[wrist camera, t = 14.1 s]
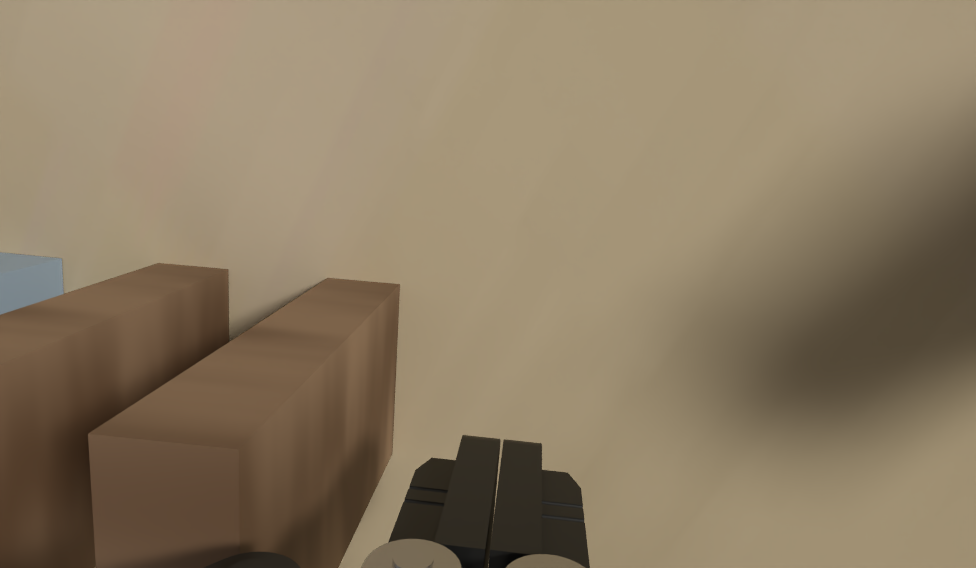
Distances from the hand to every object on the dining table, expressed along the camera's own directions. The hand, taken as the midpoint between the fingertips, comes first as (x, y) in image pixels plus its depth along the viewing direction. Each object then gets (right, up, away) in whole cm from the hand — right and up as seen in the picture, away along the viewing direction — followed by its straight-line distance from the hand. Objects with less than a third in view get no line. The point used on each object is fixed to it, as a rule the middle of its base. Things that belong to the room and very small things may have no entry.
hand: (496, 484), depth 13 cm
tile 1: (-4, +1, +6) cm, 7 cm away
